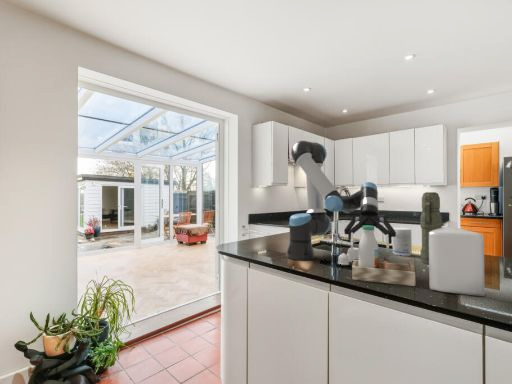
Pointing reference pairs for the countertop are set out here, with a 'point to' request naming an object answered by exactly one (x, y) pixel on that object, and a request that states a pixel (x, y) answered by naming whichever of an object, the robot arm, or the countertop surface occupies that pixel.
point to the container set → (348, 256)
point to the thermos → (429, 221)
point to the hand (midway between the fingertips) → (369, 248)
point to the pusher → (386, 262)
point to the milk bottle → (368, 248)
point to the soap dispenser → (456, 261)
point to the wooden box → (386, 273)
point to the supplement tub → (402, 242)
